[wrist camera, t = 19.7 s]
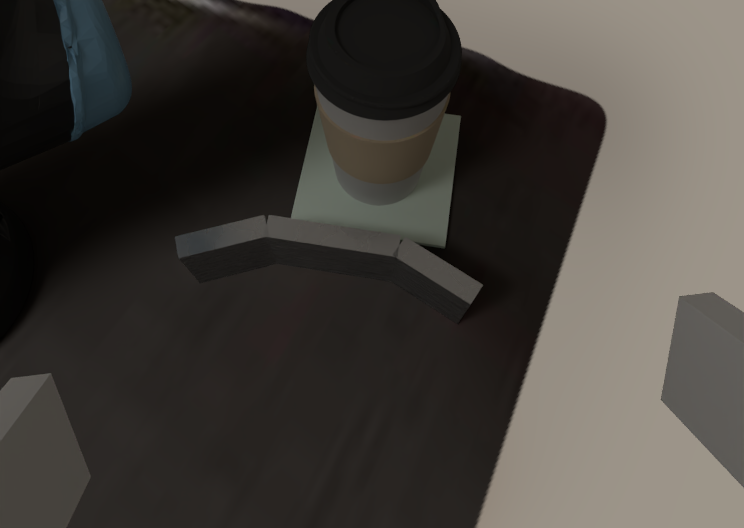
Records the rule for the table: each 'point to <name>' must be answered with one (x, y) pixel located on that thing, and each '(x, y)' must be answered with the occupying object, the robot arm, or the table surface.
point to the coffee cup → (382, 90)
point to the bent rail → (328, 257)
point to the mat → (406, 218)
